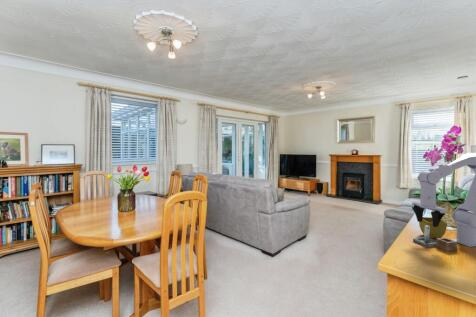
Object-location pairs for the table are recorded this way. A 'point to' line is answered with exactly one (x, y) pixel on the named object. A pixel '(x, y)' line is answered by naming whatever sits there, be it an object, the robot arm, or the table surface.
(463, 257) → the table surface
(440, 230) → the flower pot
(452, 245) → the walnut block
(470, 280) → the table surface
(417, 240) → the tray
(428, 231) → the cylinder
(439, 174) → the robot arm
